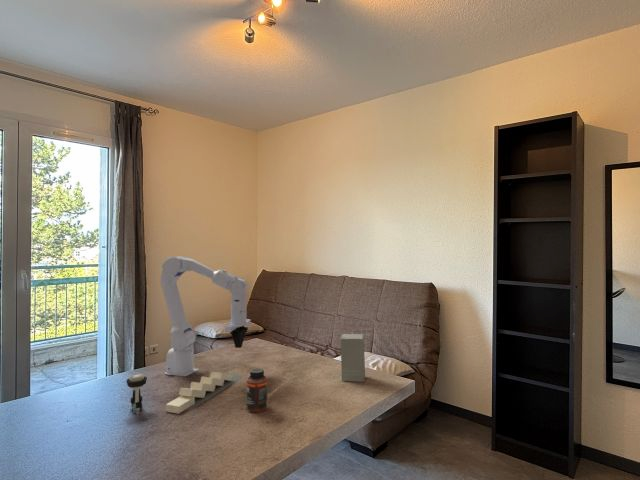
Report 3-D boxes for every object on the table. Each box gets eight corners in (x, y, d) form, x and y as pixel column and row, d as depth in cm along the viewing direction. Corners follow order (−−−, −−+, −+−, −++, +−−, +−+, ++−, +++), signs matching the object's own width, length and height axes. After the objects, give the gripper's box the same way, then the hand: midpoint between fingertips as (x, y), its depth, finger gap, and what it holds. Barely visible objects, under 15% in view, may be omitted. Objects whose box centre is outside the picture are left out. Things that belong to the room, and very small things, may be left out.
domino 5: (220, 379, 129) (209, 377, 123) (221, 373, 130) (211, 371, 124) (231, 380, 128) (220, 379, 122) (232, 374, 129) (222, 372, 123)
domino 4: (211, 384, 125) (200, 382, 119) (213, 378, 125) (201, 376, 119) (222, 386, 123) (211, 384, 117) (224, 379, 124) (213, 377, 118)
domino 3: (202, 389, 120) (189, 388, 114) (204, 383, 121) (191, 381, 115) (214, 391, 118) (201, 390, 112) (215, 385, 119) (203, 383, 113)
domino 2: (192, 395, 115) (178, 394, 109) (194, 389, 116) (180, 387, 110) (204, 397, 114) (190, 396, 108) (205, 390, 114) (192, 389, 108)
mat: (168, 407, 108) (168, 406, 108) (226, 374, 136) (226, 373, 136) (191, 411, 105) (191, 410, 105) (244, 376, 133) (244, 375, 133)
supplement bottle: (270, 406, 109) (270, 368, 109) (261, 414, 103) (261, 374, 104) (253, 403, 111) (253, 365, 111) (242, 411, 105) (243, 372, 105)
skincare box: (365, 376, 134) (365, 333, 135) (364, 383, 127) (364, 338, 128) (342, 375, 136) (342, 332, 136) (340, 382, 129) (340, 337, 129)
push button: (148, 413, 104) (148, 378, 104) (126, 418, 101) (127, 381, 101) (145, 404, 109) (145, 371, 110) (125, 408, 107) (125, 374, 107)
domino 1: (182, 401, 111) (165, 411, 104) (182, 395, 111) (165, 404, 104) (194, 403, 109) (178, 413, 103) (194, 397, 109) (178, 406, 103)
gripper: (237, 315, 129) (237, 353, 129) (257, 308, 143) (257, 343, 142) (220, 313, 131) (220, 351, 131) (241, 307, 145) (241, 341, 145)
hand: (238, 347), depth 137 cm, fingers closed
